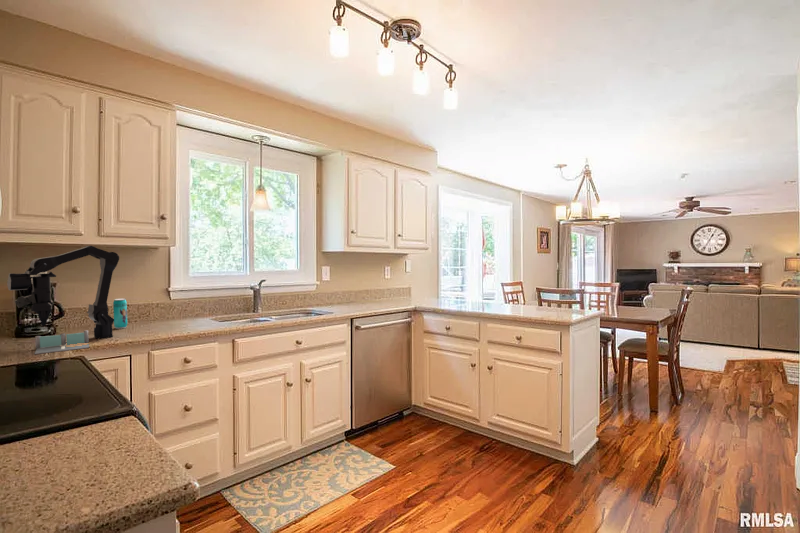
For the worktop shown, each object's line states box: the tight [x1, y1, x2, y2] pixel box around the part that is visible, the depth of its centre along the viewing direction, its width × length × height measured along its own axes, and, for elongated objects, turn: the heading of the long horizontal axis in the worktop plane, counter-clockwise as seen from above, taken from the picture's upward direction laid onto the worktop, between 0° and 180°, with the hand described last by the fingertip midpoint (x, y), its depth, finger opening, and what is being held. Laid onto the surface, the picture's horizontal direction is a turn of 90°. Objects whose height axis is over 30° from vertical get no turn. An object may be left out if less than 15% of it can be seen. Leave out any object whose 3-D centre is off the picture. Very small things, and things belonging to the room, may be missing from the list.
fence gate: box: [34, 333, 67, 349], centre depth 174 cm, size 10×2×5 cm, turn 127°
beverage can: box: [112, 298, 128, 330], centre depth 217 cm, size 6×6×15 cm
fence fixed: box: [65, 329, 90, 345], centre depth 179 cm, size 7×2×5 cm, turn 127°
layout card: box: [34, 341, 90, 355], centre depth 175 cm, size 17×18×1 cm
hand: (43, 325), depth 177 cm, fingers closed
